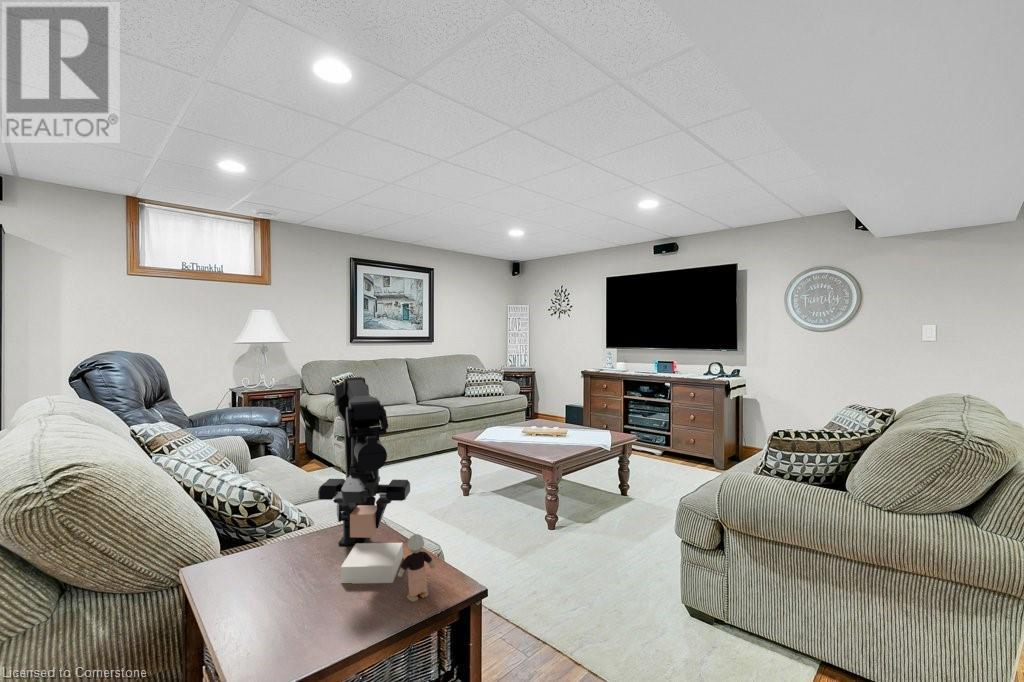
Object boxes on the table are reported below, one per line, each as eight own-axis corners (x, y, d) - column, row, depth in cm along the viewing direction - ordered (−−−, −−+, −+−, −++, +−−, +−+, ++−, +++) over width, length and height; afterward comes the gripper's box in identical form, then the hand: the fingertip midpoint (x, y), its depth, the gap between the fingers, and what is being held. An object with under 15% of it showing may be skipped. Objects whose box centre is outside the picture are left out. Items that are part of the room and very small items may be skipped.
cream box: (356, 560, 112) (355, 543, 112) (402, 559, 112) (402, 542, 112) (340, 585, 101) (340, 567, 101) (392, 584, 101) (392, 566, 101)
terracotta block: (357, 527, 106) (357, 505, 106) (379, 527, 106) (379, 505, 106) (350, 537, 101) (349, 514, 101) (373, 537, 101) (373, 514, 101)
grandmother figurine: (426, 585, 100) (426, 526, 99) (437, 593, 97) (436, 532, 97) (394, 600, 94) (393, 538, 94) (404, 608, 92) (404, 544, 91)
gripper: (306, 468, 95) (307, 544, 96) (398, 470, 95) (398, 545, 96) (328, 453, 106) (328, 520, 107) (410, 454, 106) (410, 522, 107)
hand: (365, 527), depth 104 cm, fingers closed on terracotta block, 5 cm apart
